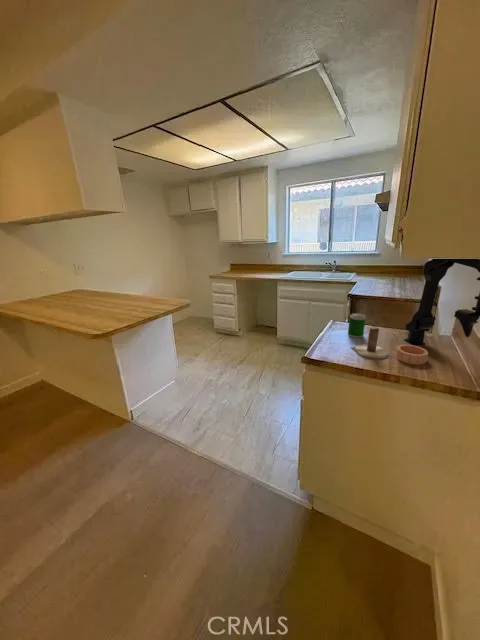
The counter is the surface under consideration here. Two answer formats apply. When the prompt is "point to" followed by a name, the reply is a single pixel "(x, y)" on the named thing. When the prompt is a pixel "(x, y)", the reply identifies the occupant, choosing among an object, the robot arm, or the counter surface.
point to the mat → (370, 358)
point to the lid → (372, 346)
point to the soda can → (356, 325)
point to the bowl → (411, 354)
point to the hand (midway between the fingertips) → (478, 335)
